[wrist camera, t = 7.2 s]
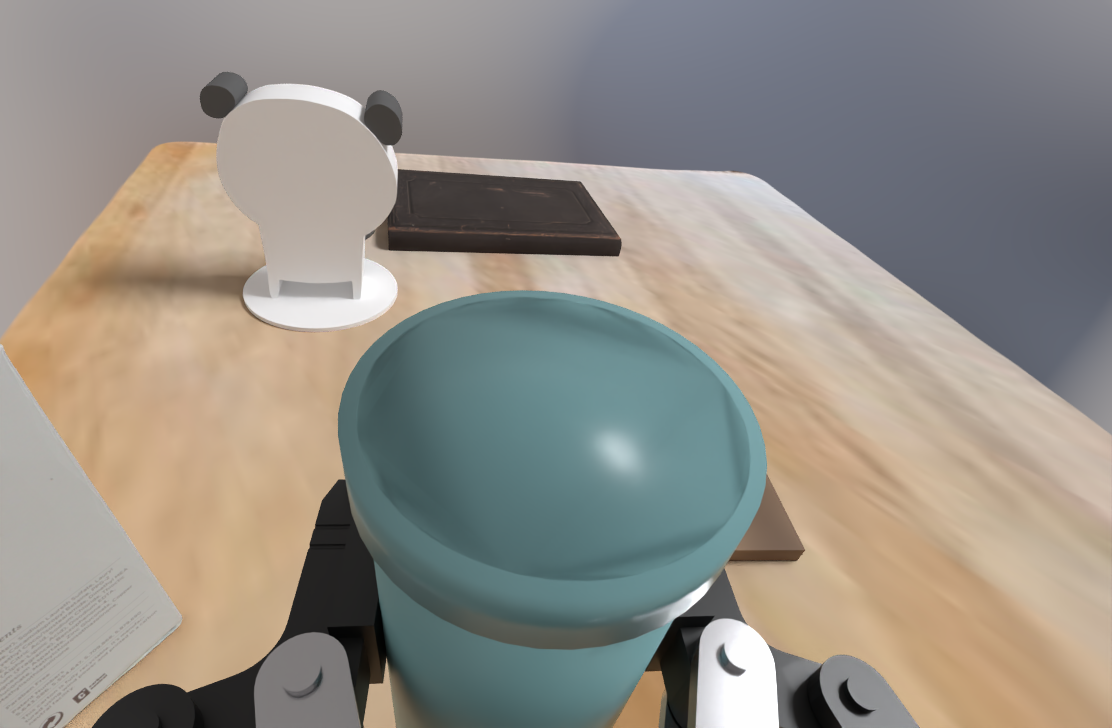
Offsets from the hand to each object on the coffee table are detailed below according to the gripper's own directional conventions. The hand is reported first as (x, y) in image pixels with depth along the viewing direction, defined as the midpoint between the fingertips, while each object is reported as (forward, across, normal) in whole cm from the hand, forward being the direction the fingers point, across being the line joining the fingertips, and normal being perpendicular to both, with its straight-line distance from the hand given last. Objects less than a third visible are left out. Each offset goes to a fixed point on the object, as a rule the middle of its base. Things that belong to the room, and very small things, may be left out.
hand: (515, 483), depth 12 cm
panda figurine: (+31, +12, +16) cm, 37 cm away
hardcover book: (+48, -1, +16) cm, 51 cm away
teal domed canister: (-3, 0, +6) cm, 7 cm away
